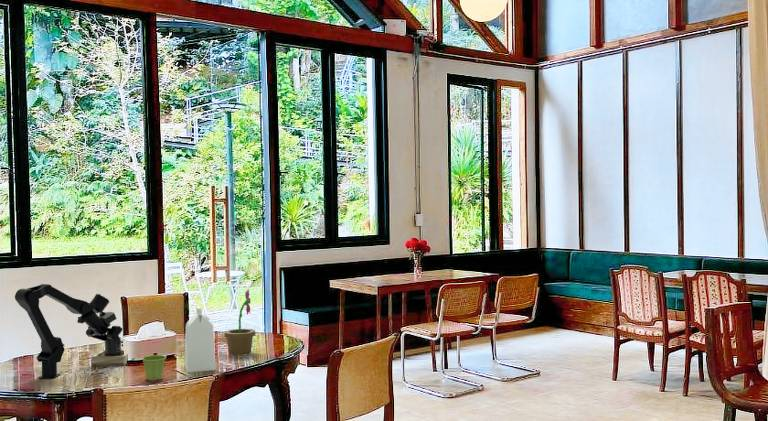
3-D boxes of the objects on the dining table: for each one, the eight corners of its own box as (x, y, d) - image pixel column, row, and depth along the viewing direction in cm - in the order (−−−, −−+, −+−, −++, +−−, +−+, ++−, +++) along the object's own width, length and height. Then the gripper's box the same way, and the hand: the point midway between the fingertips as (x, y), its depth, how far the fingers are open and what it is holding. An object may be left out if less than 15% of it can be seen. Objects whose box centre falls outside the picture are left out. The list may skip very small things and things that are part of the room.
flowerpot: (258, 354, 337) (257, 290, 336) (227, 357, 331) (226, 291, 331) (252, 348, 350) (251, 286, 349) (222, 351, 345) (221, 288, 344)
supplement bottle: (122, 358, 323) (121, 331, 323) (105, 360, 320) (105, 333, 320) (120, 356, 329) (119, 329, 329) (104, 357, 326) (103, 331, 326)
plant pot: (169, 375, 297) (169, 354, 297) (163, 381, 287) (162, 359, 287) (146, 376, 297) (145, 355, 296) (139, 382, 287) (138, 360, 287)
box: (123, 365, 318) (123, 356, 318) (91, 365, 317) (91, 356, 317) (134, 358, 332) (133, 349, 332) (103, 359, 331) (103, 350, 331)
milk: (184, 366, 314) (183, 306, 314) (211, 364, 318) (210, 304, 318) (187, 372, 303) (186, 310, 302) (215, 369, 307) (214, 308, 306)
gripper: (118, 308, 316) (139, 329, 325) (91, 305, 326) (112, 326, 335) (103, 328, 309) (125, 350, 319) (76, 325, 319) (97, 346, 328)
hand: (115, 342), depth 325 cm, fingers closed on supplement bottle, 7 cm apart
